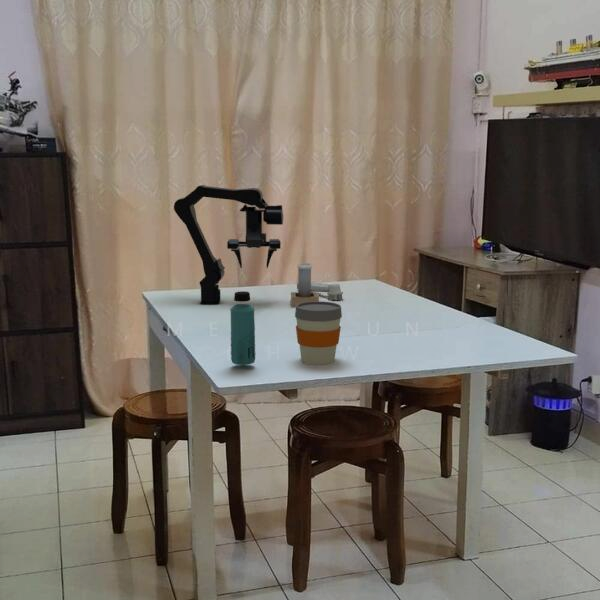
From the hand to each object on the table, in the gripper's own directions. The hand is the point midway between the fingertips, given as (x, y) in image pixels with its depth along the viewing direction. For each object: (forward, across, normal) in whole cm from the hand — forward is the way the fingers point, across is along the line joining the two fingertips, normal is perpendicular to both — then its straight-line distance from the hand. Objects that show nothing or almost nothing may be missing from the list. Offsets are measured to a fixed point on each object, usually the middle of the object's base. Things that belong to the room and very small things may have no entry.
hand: (254, 268), depth 284 cm
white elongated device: (+14, +25, +15) cm, 32 cm away
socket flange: (+13, +18, -2) cm, 22 cm away
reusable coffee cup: (+13, +18, -74) cm, 77 cm away
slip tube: (+12, +18, -2) cm, 22 cm away
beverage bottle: (+13, -2, -80) cm, 81 cm away
